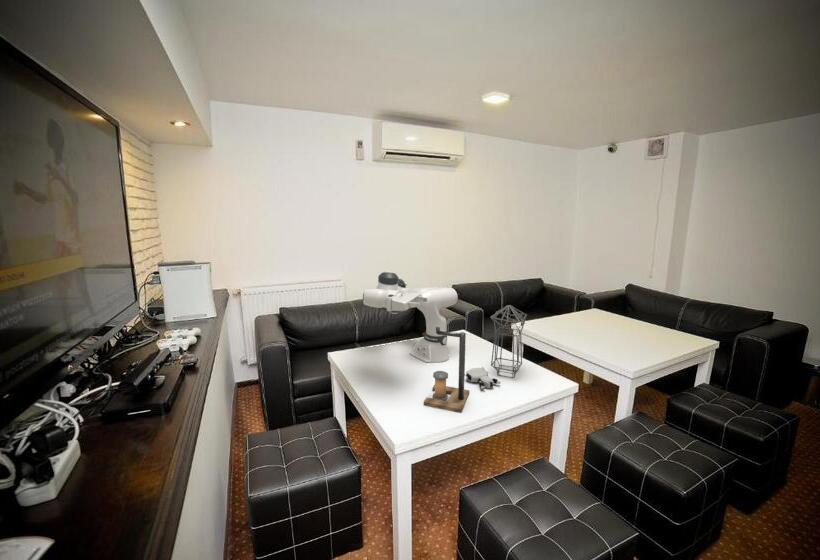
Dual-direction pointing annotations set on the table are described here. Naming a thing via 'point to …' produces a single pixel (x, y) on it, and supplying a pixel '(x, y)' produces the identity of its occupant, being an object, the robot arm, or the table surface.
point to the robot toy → (481, 377)
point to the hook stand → (461, 358)
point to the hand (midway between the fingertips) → (423, 302)
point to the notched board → (452, 402)
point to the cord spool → (440, 385)
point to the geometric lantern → (508, 335)
